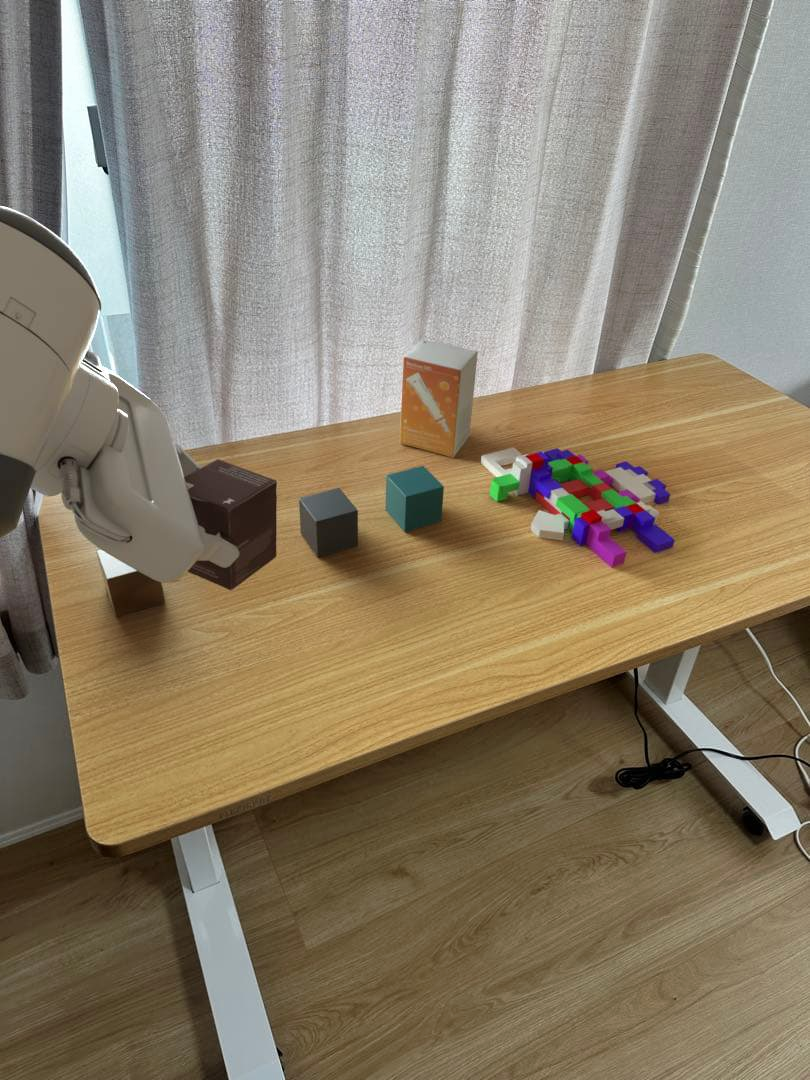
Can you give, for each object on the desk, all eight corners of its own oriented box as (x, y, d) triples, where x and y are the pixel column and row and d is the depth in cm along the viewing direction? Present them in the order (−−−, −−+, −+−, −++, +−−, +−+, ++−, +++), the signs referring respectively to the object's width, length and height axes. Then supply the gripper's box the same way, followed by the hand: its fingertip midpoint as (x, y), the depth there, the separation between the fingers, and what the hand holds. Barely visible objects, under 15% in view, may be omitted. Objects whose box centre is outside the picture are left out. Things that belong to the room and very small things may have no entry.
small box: (398, 445, 110) (401, 356, 102) (417, 424, 114) (421, 337, 106) (454, 459, 107) (461, 369, 99) (470, 437, 112) (479, 349, 104)
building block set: (716, 531, 96) (727, 500, 93) (579, 580, 88) (586, 547, 85) (586, 435, 113) (591, 406, 111) (461, 468, 105) (464, 438, 103)
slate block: (317, 557, 90) (316, 521, 87) (300, 533, 93) (298, 497, 90) (358, 545, 92) (358, 510, 89) (340, 522, 95) (339, 487, 92)
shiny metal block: (116, 617, 81) (106, 579, 78) (105, 588, 85) (95, 550, 82) (165, 602, 83) (158, 565, 80) (153, 574, 87) (145, 537, 84)
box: (278, 559, 66) (280, 480, 62) (230, 594, 61) (228, 511, 57) (220, 534, 68) (218, 457, 64) (169, 566, 64) (164, 485, 60)
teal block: (404, 532, 94) (406, 496, 91) (385, 509, 98) (386, 475, 94) (441, 521, 96) (444, 486, 93) (421, 499, 99) (423, 465, 96)
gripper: (98, 474, 45) (278, 572, 54) (77, 332, 60) (221, 427, 69) (32, 552, 47) (219, 635, 56) (28, 394, 62) (175, 480, 71)
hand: (220, 519), depth 63 cm, fingers closed on box, 8 cm apart
